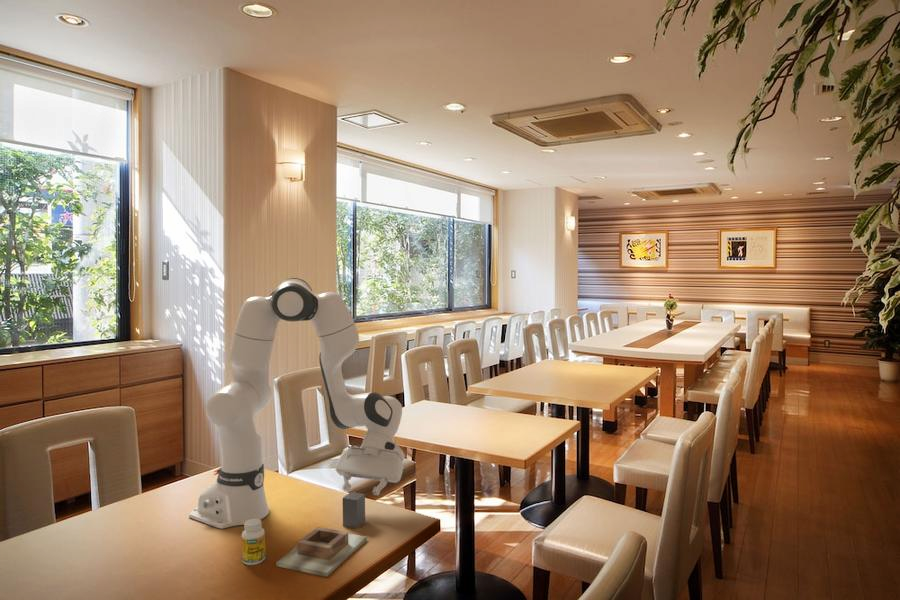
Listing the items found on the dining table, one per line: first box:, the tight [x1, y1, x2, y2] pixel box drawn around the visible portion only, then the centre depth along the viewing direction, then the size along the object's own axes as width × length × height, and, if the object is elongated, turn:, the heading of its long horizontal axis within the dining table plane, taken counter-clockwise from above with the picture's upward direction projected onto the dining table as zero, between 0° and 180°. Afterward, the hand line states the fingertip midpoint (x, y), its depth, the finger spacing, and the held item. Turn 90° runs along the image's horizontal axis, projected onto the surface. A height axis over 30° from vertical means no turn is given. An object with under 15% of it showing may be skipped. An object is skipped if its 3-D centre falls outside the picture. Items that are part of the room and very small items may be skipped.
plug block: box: [342, 491, 366, 529], centre depth 161 cm, size 4×4×8 cm
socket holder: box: [275, 526, 367, 578], centre depth 145 cm, size 14×19×4 cm
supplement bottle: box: [241, 519, 266, 566], centre depth 141 cm, size 5×5×10 cm
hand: (360, 492), depth 164 cm, fingers open, 8 cm apart
